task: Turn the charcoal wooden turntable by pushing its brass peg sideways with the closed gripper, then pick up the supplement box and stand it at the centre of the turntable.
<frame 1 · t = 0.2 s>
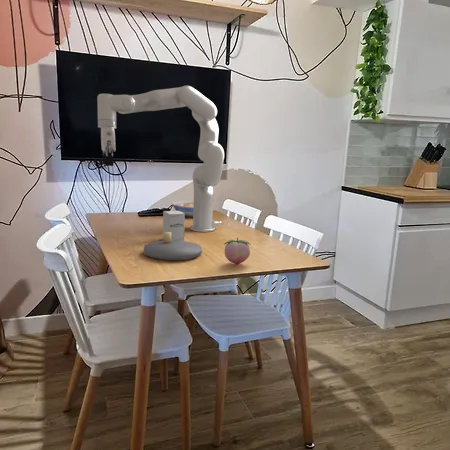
hand: (108, 165, 174), 31 cm above the table, tool pointing down, fingers open, 9 cm apart
turntable: (173, 244, 154), point 4 cm above the table, hinge at 0.0°
decorative fruit: (236, 264, 144), on the table
supplement box: (173, 241, 175), on the table
ramen bowl: (191, 216, 232), on the table
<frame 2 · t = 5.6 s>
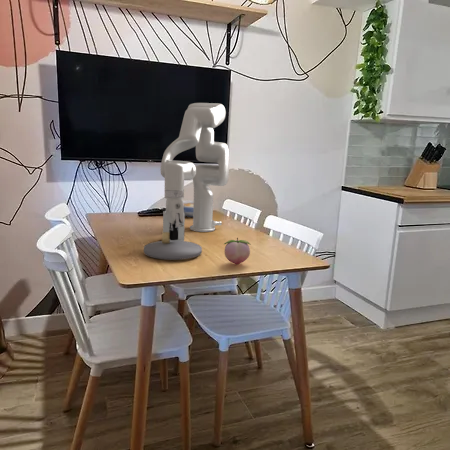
hand: (173, 239, 161), 4 cm above the table, tool pointing down, fingers closed
turntable: (173, 244, 154), point 4 cm above the table, hinge at 4.8°, touching gripper
everything else where it was.
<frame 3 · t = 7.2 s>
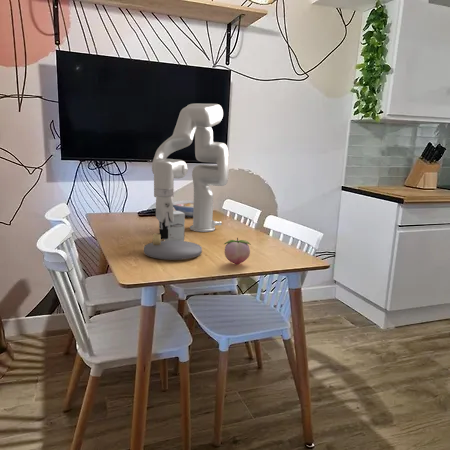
hand: (163, 238, 160), 4 cm above the table, tool pointing down, fingers closed
turntable: (173, 244, 154), point 4 cm above the table, hinge at 36.2°
everything else where it was.
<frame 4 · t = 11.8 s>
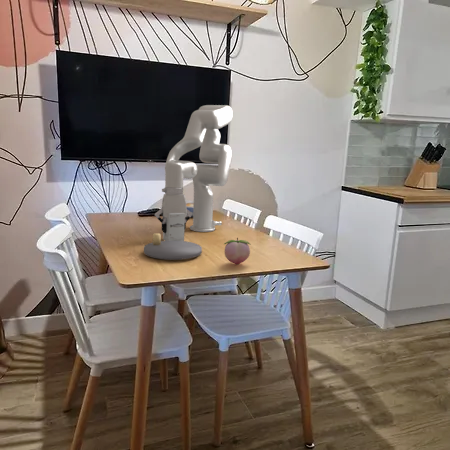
hand: (173, 231, 174), 4 cm above the table, tool pointing down, fingers closed on supplement box, 7 cm apart
supplement box: (173, 241, 175), on the table, touching gripper
everything else where it was.
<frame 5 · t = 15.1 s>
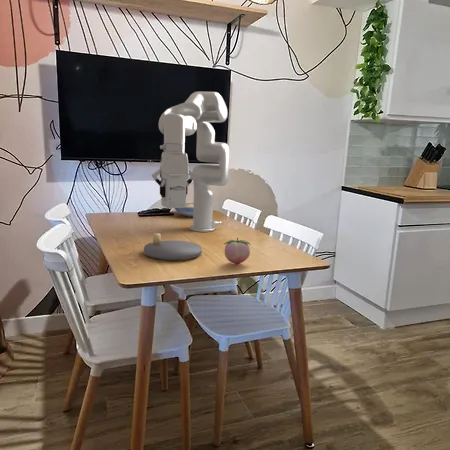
hand: (173, 196, 151), 22 cm above the table, tool pointing down, fingers closed on supplement box, 7 cm apart
supplement box: (173, 207, 151), point 18 cm above the table, touching gripper
everything else where it was.
when the fingers open (8 cm above the table, at t = 18.5 s): supplement box drops 1 cm, resting on turntable.
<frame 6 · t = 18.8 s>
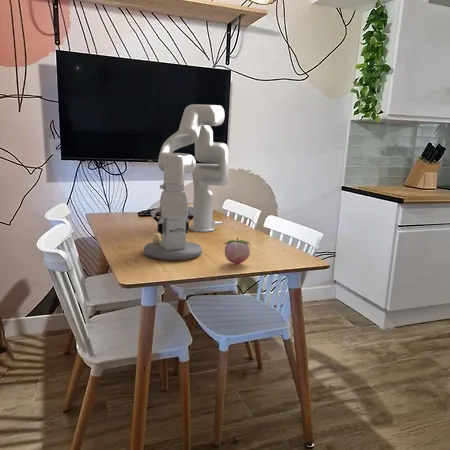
hand: (173, 232, 153), 8 cm above the table, tool pointing down, fingers open, 9 cm apart
turntable: (173, 244, 154), point 4 cm above the table, hinge at 36.2°, touching supplement box
supplement box: (173, 247, 154), point 2 cm above the table, touching turntable
everything else where it was.
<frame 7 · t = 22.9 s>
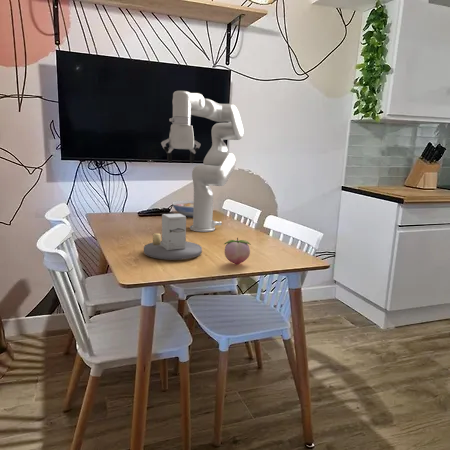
hand: (180, 162, 173), 33 cm above the table, tool pointing down, fingers open, 9 cm apart
nothing on the table moved.
at the end: turntable at +36° (first picture: +0°); supplement box 0.3 cm from the turntable (horizontally); supplement box tilted 0° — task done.
